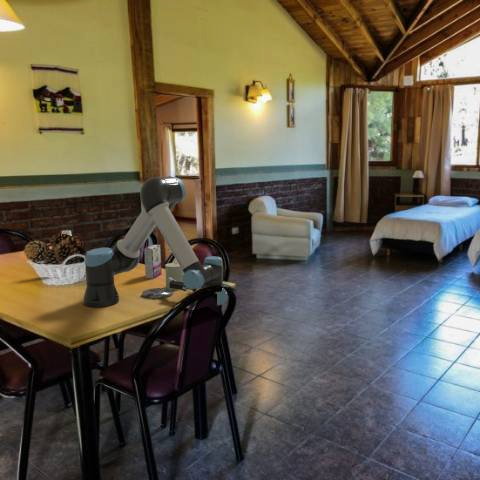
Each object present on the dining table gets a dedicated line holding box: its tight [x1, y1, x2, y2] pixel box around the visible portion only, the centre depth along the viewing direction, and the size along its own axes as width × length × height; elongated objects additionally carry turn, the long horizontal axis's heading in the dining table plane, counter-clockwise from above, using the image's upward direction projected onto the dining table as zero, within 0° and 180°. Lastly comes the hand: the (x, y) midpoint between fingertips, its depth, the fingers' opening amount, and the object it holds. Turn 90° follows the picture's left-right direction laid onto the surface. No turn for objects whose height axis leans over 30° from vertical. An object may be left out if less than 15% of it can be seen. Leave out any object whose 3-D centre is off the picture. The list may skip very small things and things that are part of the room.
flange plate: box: [141, 287, 174, 300], centre depth 218 cm, size 14×14×1 cm
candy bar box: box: [143, 244, 162, 280], centre depth 251 cm, size 11×5×16 cm, turn 167°
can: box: [164, 262, 184, 291], centre depth 229 cm, size 9×9×12 cm
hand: (182, 278), depth 221 cm, fingers open, 13 cm apart
